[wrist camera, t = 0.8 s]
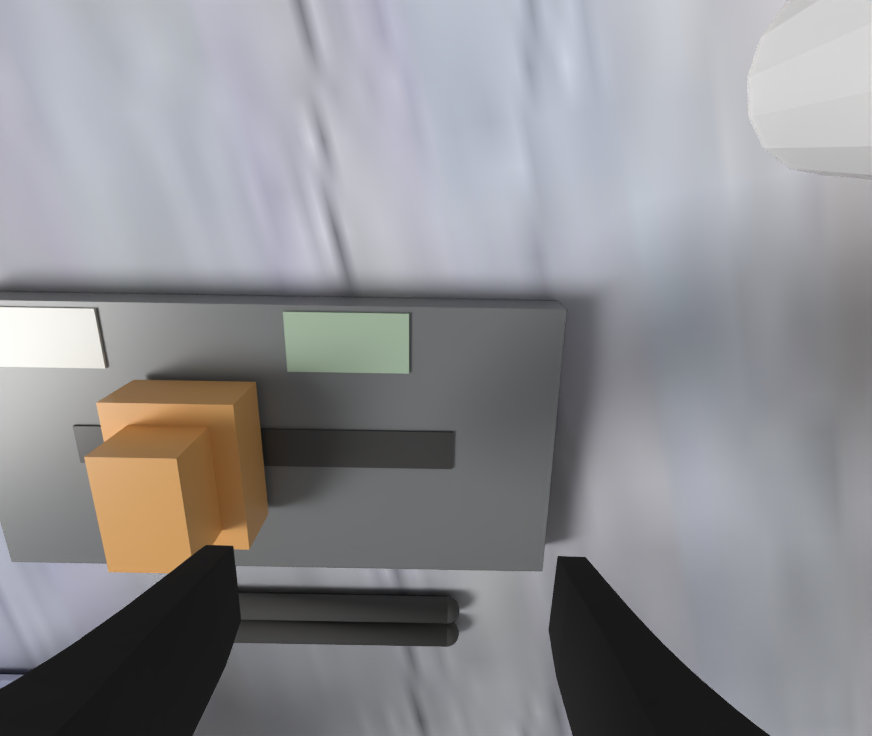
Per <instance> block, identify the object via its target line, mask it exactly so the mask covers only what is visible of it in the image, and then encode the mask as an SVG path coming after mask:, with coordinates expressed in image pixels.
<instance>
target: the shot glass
mask: <svg viewBox="0 0 872 736" xmlns="http://www.w3.org/2000/svg"><path fill="white" fill-rule="evenodd" d="M747 88H748V116H749V119H750V121H751V123H752V126H753V128H754V130H755V132H756V134H757V136H758V138H759V140H760V142H761V145H762V147H763V149H765V150H766V151H767V152H769V153H770V154H771V155H772V156H774V157H775V158H776V159H778V160H779V161H780V162H781V163H783V164H784V165H785V166H787V167H788V168H789V169H794V170H800V171H805V172H810V173H815V174H820V175H829V176H840V177H851V178H861V179H872V0H788V1H786V3H785V4H784V6H783V7H782V8H781V10H780V11H779V12H778V14H777V15H776V17H775V18H774V19H773V21H772V22H771V23H770V25H769V26H768V28H767V29H766V30H765V32H764V33H763V35H762V36H761V37H760V40H759V43H758V46H757V49H756V53H755V56H754V59H753V62H752V65H751V68H750V71H749V74H748V77H747Z"/></svg>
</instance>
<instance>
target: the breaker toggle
mask: <svg viewBox="0 0 872 736" xmlns="http://www.w3.org/2000/svg"><path fill="white" fill-rule="evenodd" d="M96 405H97V410H98V415H99V420H100V425H101V430H102V435H103V440H104V443H102V444H101V445H100V446H98V447H97V448H96V449H94V450H93V451H92V452H90V453H89V454H87V455H86V456H85V457H84V459H85V464H86V468H87V473H88V478H89V482H90V487H91V492H92V496H93V501H94V506H95V510H96V515H97V520H98V524H99V529H100V534H101V538H102V543H103V547H104V552H105V557H106V561H107V566H108V571H109V572H133V573H170V572H171V571H173V570H174V569H175V568H176V567H178V566H179V565H180V564H181V563H183V562H184V561H185V560H187V559H188V558H189V557H190V556H192V555H193V554H194V553H196V552H197V551H198V550H200V549H201V548H202V547H204V546H205V545H226V546H233V547H234V549H242V550H249V549H250V548H251V546H252V544H253V542H254V540H255V538H256V536H257V535H258V533H259V531H260V529H261V527H262V525H263V523H264V522H265V520H266V518H267V516H268V514H269V512H268V502H267V492H266V481H265V471H264V461H263V450H262V440H261V430H260V420H259V409H258V399H257V389H256V382H241V381H182V380H132V381H131V382H129V383H127V384H126V385H124V386H122V387H121V388H119V389H118V390H116V391H114V392H113V393H111V394H109V395H108V396H106V397H104V398H103V399H101V400H99V401H98V402H96Z"/></svg>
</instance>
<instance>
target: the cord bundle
mask: <svg viewBox="0 0 872 736" xmlns="http://www.w3.org/2000/svg"><path fill="white" fill-rule="evenodd" d="M238 594H239V604H240V613H241V622H240V625H239V628H238V631H237V634H236V637H235V640H234V643H280V644H335V645H389V646H443V647H447V646H451V645H453V644H454V643H455V642H456V641H457V639H458V635H459V631H458V628H457V626H456V624H455V623H454V621H455V620H456V619H457V617H458V615H459V605H458V603H457V601H456V600H455V599H453V598H451V597H440V596H385V595H329V594H274V593H238Z"/></svg>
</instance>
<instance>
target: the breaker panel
mask: <svg viewBox="0 0 872 736" xmlns="http://www.w3.org/2000/svg"><path fill="white" fill-rule="evenodd" d="M566 313H567V309H566V308H565V307H563V306H562V305H561V304H560V303H559V302H558V301H553V300H492V299H431V298H370V297H309V296H248V295H187V294H126V293H65V292H4V291H0V521H1V525H2V529H3V532H4V536H5V539H6V543H7V546H8V550H9V553H10V557H11V560H12V562H50V563H106V564H107V561H106V557H105V552H104V547H103V543H102V538H101V534H100V529H99V524H98V520H97V515H96V510H95V506H94V501H93V496H92V492H91V487H90V482H89V478H88V473H87V468H86V464H85V459H84V457H85V456H86V455H87V454H89V453H90V452H92V451H93V450H94V449H96V448H97V447H98V446H100V445H101V444H102V443H104V440H103V435H102V430H101V425H100V420H99V415H98V410H97V405H96V402H98V401H99V400H101V399H103V398H104V397H106V396H108V395H109V394H111V393H113V392H114V391H116V390H118V389H119V388H121V387H122V386H124V385H126V384H127V383H129V382H131V381H132V380H182V381H241V382H256V389H257V399H258V409H259V420H260V430H261V440H262V450H263V461H264V471H265V481H266V492H267V502H268V512H269V514H268V516H267V518H266V520H265V522H264V523H263V525H262V527H261V529H260V531H259V533H258V535H257V536H256V538H255V540H254V542H253V544H252V546H251V548H250V549H249V550H242V549H234V557H235V566H273V567H329V568H384V569H440V570H496V571H542V569H543V558H544V548H545V537H546V526H547V516H548V505H549V494H550V484H551V473H552V462H553V452H554V441H555V430H556V420H557V409H558V398H559V388H560V377H561V366H562V356H563V345H564V334H565V324H566Z"/></svg>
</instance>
